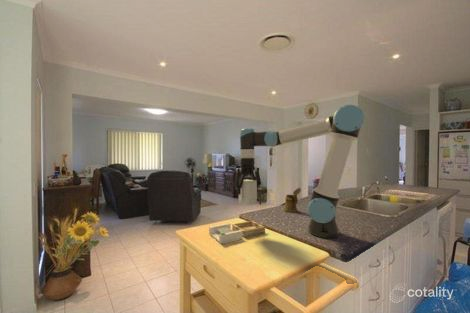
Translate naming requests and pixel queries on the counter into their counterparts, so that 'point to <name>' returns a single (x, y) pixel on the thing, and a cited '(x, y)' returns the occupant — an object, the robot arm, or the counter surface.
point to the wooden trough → (249, 228)
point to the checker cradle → (225, 234)
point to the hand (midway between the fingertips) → (247, 199)
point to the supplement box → (249, 192)
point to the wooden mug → (291, 201)
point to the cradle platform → (224, 230)
